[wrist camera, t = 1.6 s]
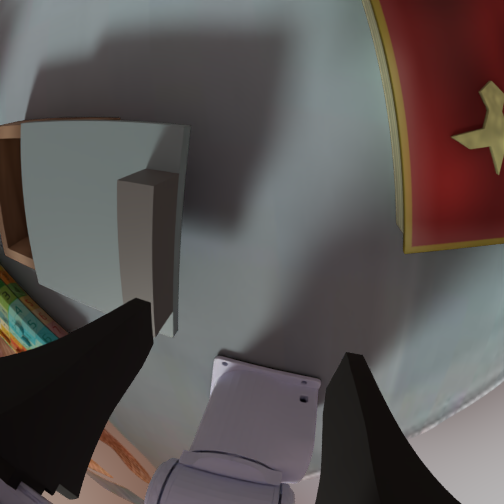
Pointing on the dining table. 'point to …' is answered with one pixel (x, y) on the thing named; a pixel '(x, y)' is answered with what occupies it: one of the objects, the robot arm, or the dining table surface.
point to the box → (17, 191)
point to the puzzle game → (24, 318)
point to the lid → (107, 211)
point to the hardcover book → (444, 117)
